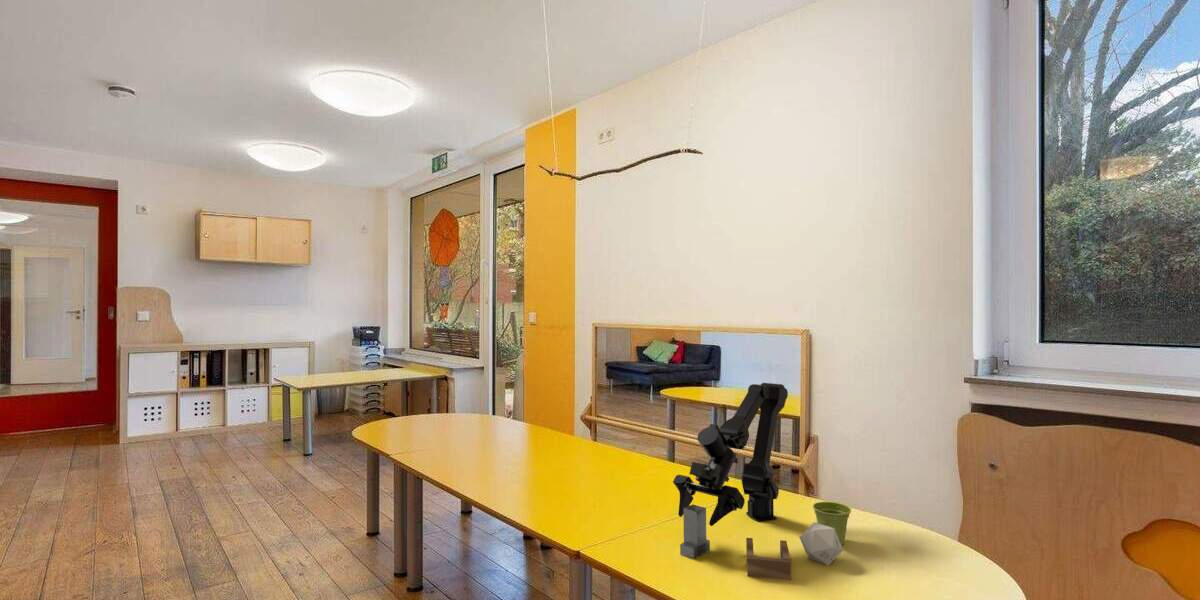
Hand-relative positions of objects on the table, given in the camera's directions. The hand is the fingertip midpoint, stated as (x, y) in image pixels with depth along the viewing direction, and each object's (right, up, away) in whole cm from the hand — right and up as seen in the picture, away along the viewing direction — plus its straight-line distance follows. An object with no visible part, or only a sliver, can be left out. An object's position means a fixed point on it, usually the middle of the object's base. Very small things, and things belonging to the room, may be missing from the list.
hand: (694, 520), depth 146 cm
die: (+30, -8, -5) cm, 31 cm away
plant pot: (+37, -8, +6) cm, 38 cm away
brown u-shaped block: (+16, -8, -8) cm, 19 cm away
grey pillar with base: (0, -8, 0) cm, 8 cm away
